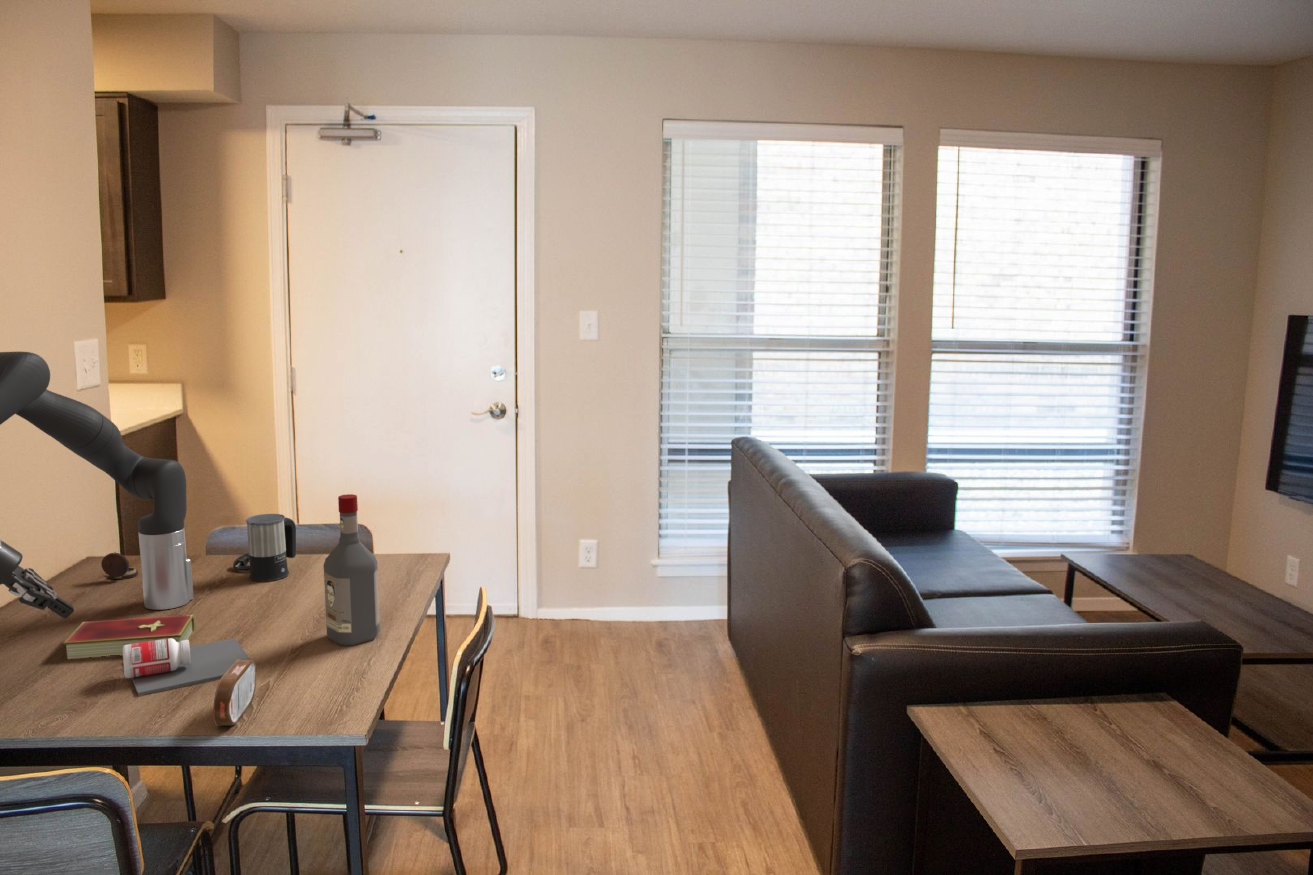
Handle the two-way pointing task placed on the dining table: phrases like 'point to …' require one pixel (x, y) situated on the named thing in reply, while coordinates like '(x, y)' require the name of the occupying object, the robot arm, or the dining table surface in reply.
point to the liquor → (351, 583)
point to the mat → (195, 667)
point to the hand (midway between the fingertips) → (70, 613)
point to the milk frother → (268, 547)
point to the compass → (117, 566)
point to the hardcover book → (124, 634)
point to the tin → (234, 692)
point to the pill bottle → (155, 657)
